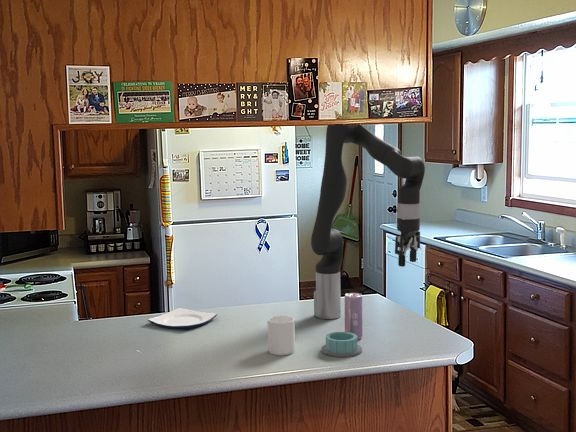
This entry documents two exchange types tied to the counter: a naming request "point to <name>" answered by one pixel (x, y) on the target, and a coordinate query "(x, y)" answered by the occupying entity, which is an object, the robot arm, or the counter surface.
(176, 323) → the plate
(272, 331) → the mug
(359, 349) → the holder
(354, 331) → the beverage can
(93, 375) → the counter surface
